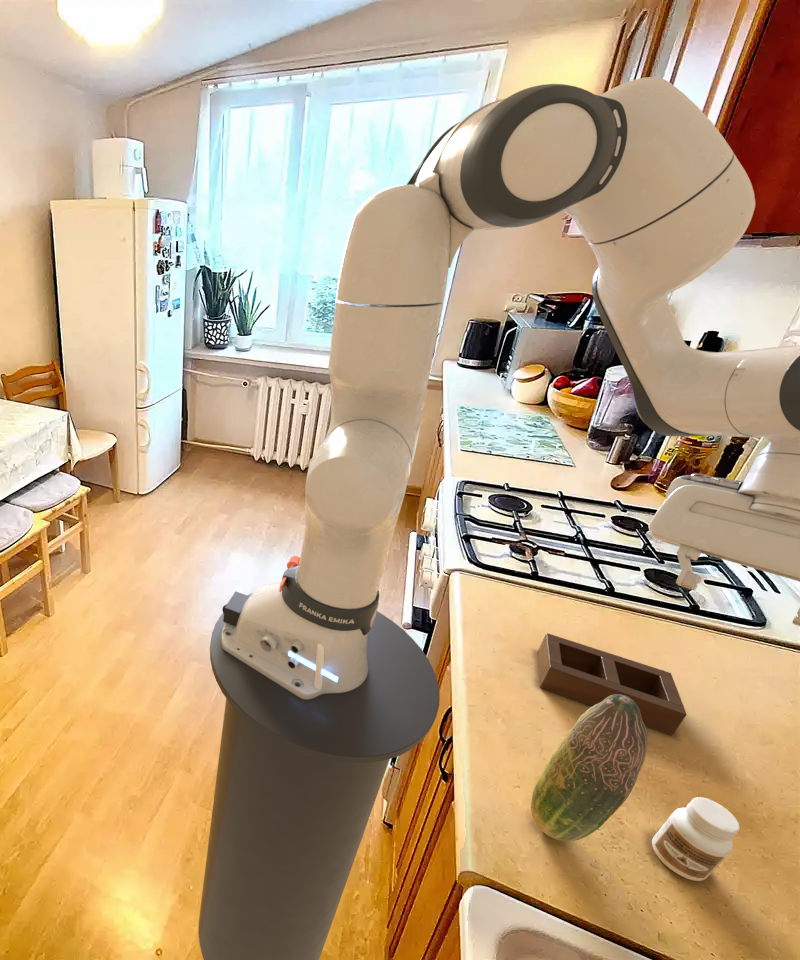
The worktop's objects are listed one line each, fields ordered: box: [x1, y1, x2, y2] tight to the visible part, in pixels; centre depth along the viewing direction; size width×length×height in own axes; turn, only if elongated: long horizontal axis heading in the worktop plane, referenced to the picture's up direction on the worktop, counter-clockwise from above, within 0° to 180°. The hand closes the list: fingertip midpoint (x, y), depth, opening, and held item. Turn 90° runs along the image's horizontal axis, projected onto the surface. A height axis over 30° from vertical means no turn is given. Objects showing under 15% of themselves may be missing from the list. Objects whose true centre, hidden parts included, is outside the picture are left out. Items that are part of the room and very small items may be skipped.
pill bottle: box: [651, 796, 741, 882], centre depth 52 cm, size 4×4×8 cm
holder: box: [536, 632, 687, 736], centre depth 73 cm, size 8×14×4 cm, turn 59°
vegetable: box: [530, 694, 649, 842], centre depth 52 cm, size 6×6×20 cm
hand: (740, 605), depth 58 cm, fingers open, 8 cm apart
